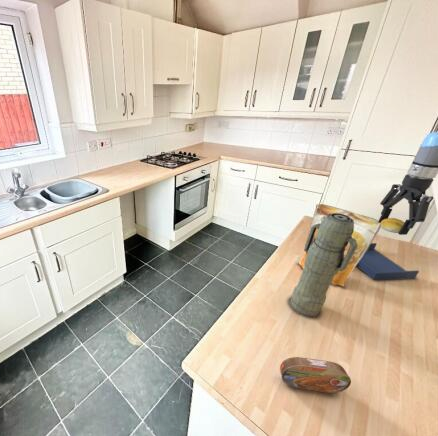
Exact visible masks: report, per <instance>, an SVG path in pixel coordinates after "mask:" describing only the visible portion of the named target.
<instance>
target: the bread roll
mask: <svg viewBox="0 0 438 436" xmlns="http://www.w3.org/2000/svg"><path fill="white" fill-rule="evenodd" d="M404 223H405V221H403V220H402V219H399V218H395V217H388V218H387V219H384V220H382V221H381V227H380V229H382V230H384V231H386V232H389V233H393V234H398V233H399V231H400V230H401V228H402V226H403V224H404Z"/></svg>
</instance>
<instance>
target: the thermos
mask: <svg viewBox="0 0 438 436" xmlns="http://www.w3.org/2000/svg"><path fill="white" fill-rule="evenodd" d="M316 228H317V229H319V230H318V232H317V235H316V239H315V240H314V243H313V244H312V245H311V242H312V239H313V236H314V234H315V231H316ZM309 231H310V233H309V232H308V235H309V236H307V239H306V242H305V245H304V250H303V252H306V254H307V255H306V258H305V261H304V263H305V266H304V269H303V268H302V272H301V275H300V277H299V279H298V283H297V285H296V286H295V287H294V289H293V291H292V293H291V298H290V301H289V303H290V306H291V308H292V309H293V310H294V311H295V312H296V313H298V314H300V315H302V316H304V317H309V318H314V317H317V316H318V315H319V314H320V311H321V310H322V308H323V306H324V304H325V302H326V299H327V293H328V290H329V289H330V286H331V285H332V284H331V282H332V279H333V277H334V275H336V274H337V273H338V271H341V270H345V269H346V268H347V266H348V263H349V261H350V259H351V258H352V256H353V254H354V252H355V250H356V248H357V246H358V245H357V242H356V240H355V239H353V238H352V234H353V231H354V220H353V219H352V218H350V217H349V216H347V215H344V214H340V213H331V214H328V215H327V216H326V217H325V218H324V219H323V220H322V222H321V224H320V223H319V224H316V225H314V226H313V227H312V228H311V230H310V229H309ZM348 242H349V244H350V247H349V249H348V252H347V254H346V256H345V258H344V251H345V247H346V246H347V245H348ZM310 245H311V246H310Z"/></svg>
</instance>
